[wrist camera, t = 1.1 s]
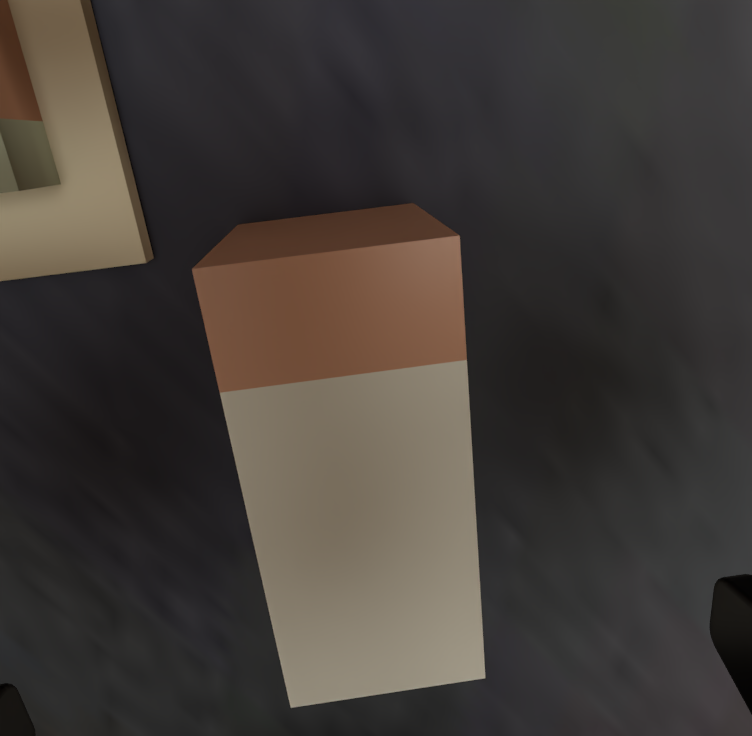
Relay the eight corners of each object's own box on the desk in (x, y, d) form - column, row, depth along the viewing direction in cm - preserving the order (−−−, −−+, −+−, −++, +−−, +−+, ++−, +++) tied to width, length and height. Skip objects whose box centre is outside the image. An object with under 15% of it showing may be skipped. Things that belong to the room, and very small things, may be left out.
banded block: (440, 529, 17) (485, 678, 12) (300, 549, 17) (290, 707, 12) (412, 202, 14) (459, 235, 9) (238, 224, 13) (191, 269, 9)
